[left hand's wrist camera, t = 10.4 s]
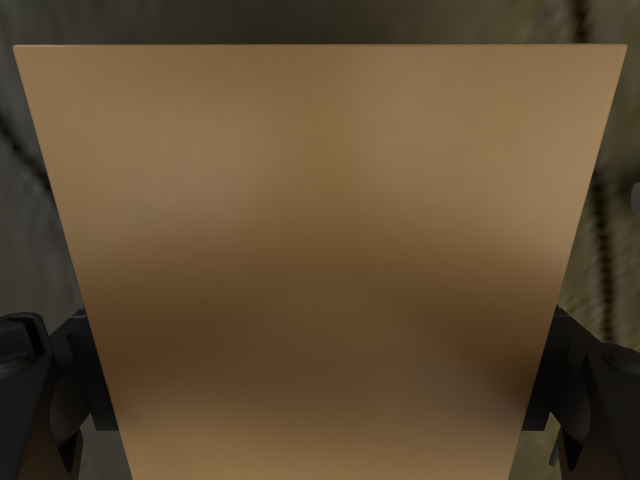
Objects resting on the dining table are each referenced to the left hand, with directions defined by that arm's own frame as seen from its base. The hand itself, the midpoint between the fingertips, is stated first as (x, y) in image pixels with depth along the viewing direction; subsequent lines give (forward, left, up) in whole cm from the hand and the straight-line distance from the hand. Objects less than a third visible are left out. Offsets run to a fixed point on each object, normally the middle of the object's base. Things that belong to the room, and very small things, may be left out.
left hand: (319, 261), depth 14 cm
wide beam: (+13, +23, -1) cm, 27 cm away
